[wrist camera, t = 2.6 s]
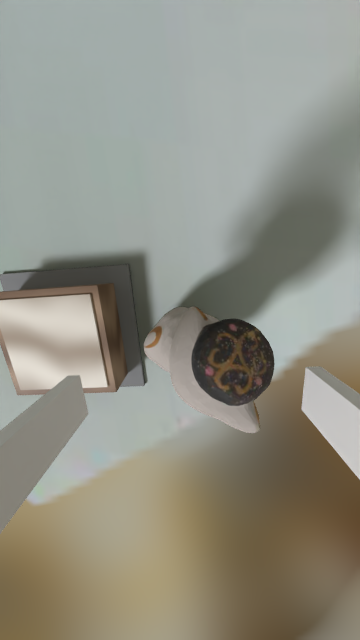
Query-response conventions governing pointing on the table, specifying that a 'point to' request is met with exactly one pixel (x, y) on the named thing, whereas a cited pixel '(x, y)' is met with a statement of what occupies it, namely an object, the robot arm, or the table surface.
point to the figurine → (213, 364)
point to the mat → (91, 277)
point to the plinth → (62, 338)
